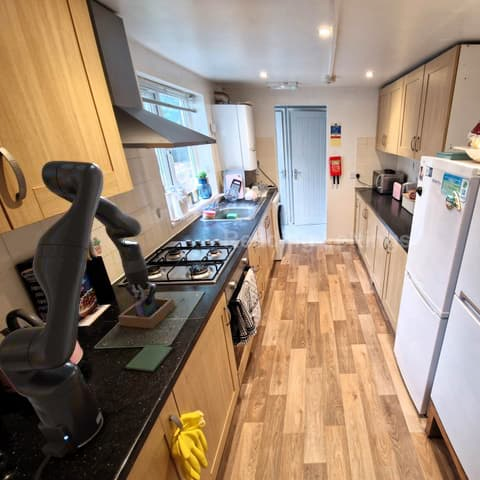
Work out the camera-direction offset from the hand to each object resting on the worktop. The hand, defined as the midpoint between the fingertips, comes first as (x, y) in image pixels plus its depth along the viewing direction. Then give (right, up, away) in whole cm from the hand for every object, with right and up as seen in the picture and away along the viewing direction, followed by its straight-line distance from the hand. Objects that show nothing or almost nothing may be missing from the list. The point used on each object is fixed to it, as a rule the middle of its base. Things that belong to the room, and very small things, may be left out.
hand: (145, 303), depth 111 cm
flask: (0, -6, +2) cm, 6 cm away
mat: (+14, -14, -19) cm, 28 cm away
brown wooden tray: (0, -6, +2) cm, 6 cm away
